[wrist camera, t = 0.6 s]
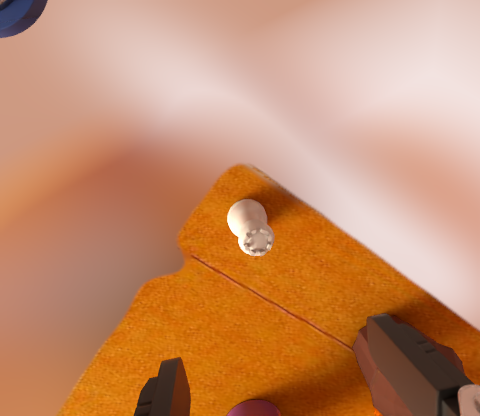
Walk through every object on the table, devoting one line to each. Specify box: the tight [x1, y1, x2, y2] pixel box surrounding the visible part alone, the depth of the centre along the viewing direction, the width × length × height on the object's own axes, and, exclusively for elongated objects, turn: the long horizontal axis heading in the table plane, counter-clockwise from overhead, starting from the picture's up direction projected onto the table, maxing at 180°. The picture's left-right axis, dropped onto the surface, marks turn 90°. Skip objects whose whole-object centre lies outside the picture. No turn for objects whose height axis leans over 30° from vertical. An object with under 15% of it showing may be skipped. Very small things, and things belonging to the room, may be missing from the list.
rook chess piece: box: [228, 199, 274, 256], centre depth 27 cm, size 4×4×8 cm
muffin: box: [352, 315, 465, 416], centre depth 33 cm, size 12×11×10 cm
